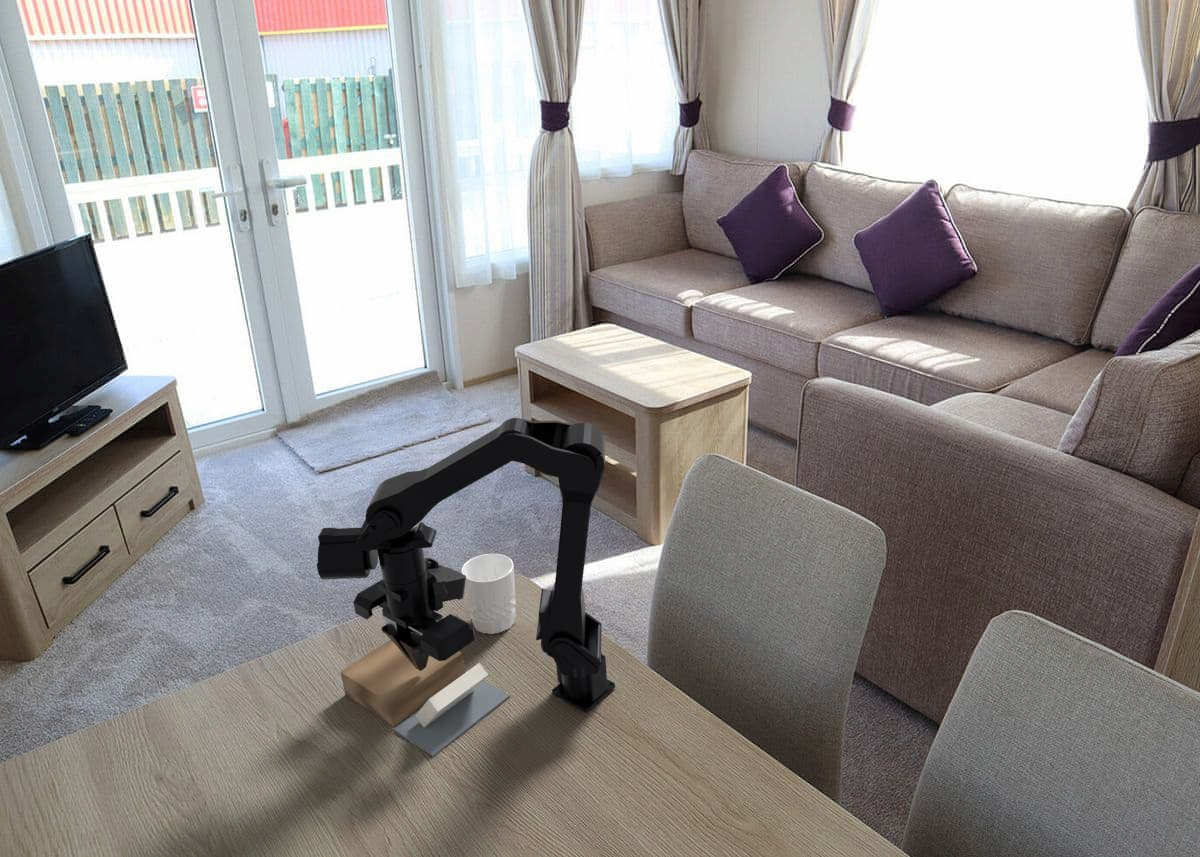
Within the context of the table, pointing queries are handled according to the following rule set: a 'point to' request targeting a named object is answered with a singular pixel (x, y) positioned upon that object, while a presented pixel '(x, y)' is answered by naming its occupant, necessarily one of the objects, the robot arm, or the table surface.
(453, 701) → the white sticky note pad
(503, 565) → the white cup
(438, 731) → the mat
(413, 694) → the tan beveled block
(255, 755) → the table surface
